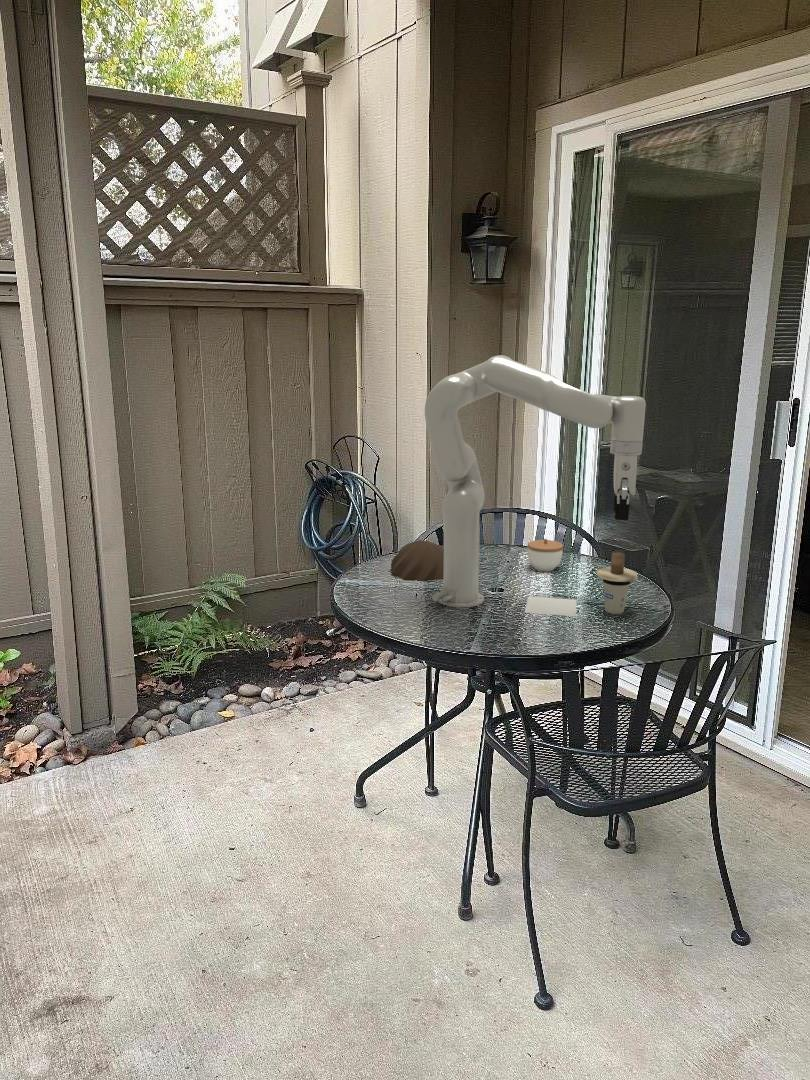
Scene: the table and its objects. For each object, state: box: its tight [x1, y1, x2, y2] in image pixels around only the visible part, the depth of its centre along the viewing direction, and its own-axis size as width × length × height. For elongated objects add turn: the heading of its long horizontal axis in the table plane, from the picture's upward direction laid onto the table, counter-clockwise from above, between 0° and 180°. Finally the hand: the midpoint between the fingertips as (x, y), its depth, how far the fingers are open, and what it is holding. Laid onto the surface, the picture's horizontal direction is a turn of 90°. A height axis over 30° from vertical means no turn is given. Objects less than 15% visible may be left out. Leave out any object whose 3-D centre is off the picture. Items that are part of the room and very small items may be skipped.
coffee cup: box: [602, 579, 631, 615], centre depth 201 cm, size 7×7×10 cm
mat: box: [524, 596, 578, 617], centre depth 205 cm, size 13×13×1 cm
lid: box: [596, 551, 638, 582], centre depth 199 cm, size 10×10×6 cm
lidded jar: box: [527, 538, 564, 572], centre depth 239 cm, size 11×11×9 cm
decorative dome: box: [390, 539, 444, 582], centre depth 235 cm, size 19×20×10 cm
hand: (620, 515), depth 195 cm, fingers open, 9 cm apart
